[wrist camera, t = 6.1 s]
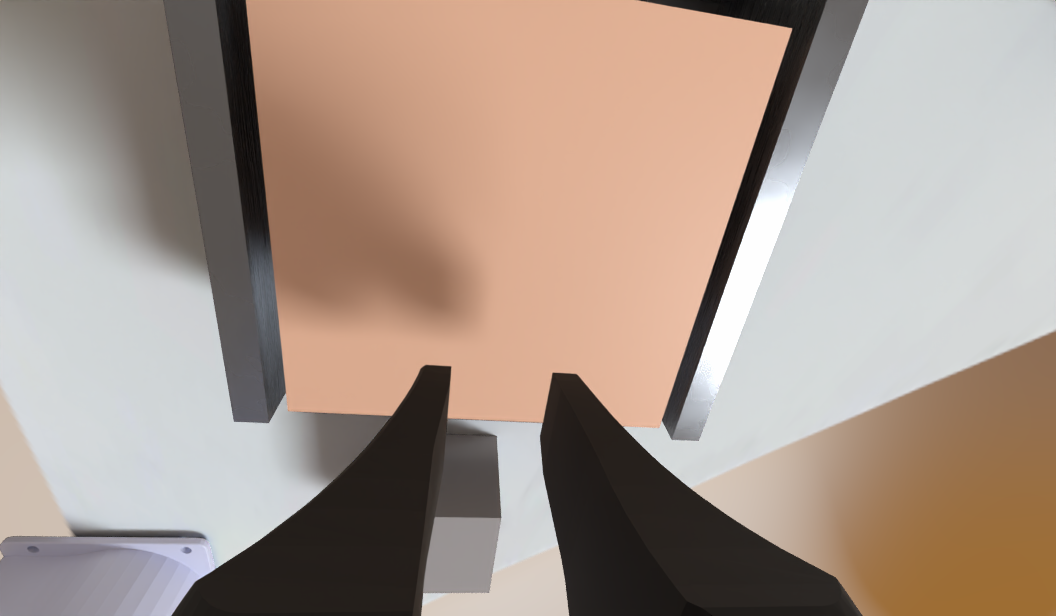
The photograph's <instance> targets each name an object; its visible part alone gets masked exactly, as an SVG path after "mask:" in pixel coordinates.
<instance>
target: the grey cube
mask: <svg viewBox="0 0 1056 616" xmlns="http://www.w3.org/2000/svg"><path fill="white" fill-rule="evenodd" d="M500 522H501V507H500V488H499V470H498V452H497V436H481V435H455V434H446V442H445V454H444V466H443V474H442V480H441V486H440V491H439V497H438V502H437V508H436V513H435V519H434V524H433V530H432V535H431V541H430V546H429V552H428V557H427V564H426V571H425V578H424V588H423V593H489V590H490V584H491V577H492V572H493V565H494V559H495V553H496V547H497V541H498V534H499V528H500Z"/></svg>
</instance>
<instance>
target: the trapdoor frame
mask: <svg viewBox="0 0 1056 616" xmlns="http://www.w3.org/2000/svg"><path fill="white" fill-rule="evenodd" d="M163 1H164V7H165V13H166V19H167V25H168V31H169V37H170V43H171V49H172V55H173V61H174V67H175V73H176V79H177V84H178V90H179V96H180V102H181V108H182V114H183V120H184V126H185V132H186V138H187V144H188V150H189V156H190V162H191V168H192V174H193V180H194V186H195V192H196V198H197V204H198V210H199V216H200V222H201V228H202V234H203V240H204V246H205V252H206V258H207V264H208V270H209V276H210V282H211V287H212V293H213V299H214V305H215V311H216V317H217V323H218V329H219V335H220V341H221V347H222V353H223V359H224V365H225V371H226V377H227V383H228V389H229V395H230V401H231V407H232V413H233V419H234V422H257V423H269V422H270V420H271V418H272V416H273V415H274V413H275V411H276V409H277V407H278V405H279V404H280V402H281V400H282V398H283V396H284V395H285V393H286V386H285V377H284V367H283V357H282V347H281V338H280V328H279V318H278V308H277V299H276V289H275V279H274V269H273V260H272V250H271V240H270V231H269V221H268V211H267V201H266V192H265V182H264V172H263V162H262V153H261V143H260V133H259V124H258V114H257V104H256V94H255V85H254V75H253V65H252V55H251V46H250V36H249V26H248V17H247V7H246V0H163ZM638 1H644V2H649V3H655V4H660V5H666V6H671V7H677V8H682V9H688V10H693V11H699V12H704V13H710V14H715V15H721V16H727V17H732V18H738V19H743V20H749V21H754V22H760V23H765V24H771V25H776V26H782V27H787V28H792V31H791V34H790V37H789V40H788V43H787V46H786V49H785V52H784V55H783V58H782V61H781V64H780V67H779V70H778V73H777V76H776V79H775V82H774V85H773V88H772V91H771V94H770V97H769V100H768V103H767V106H766V109H765V112H764V115H763V118H762V121H761V124H760V127H759V130H758V133H757V136H756V139H755V142H754V145H753V148H752V151H751V154H750V157H749V160H748V163H747V166H746V169H745V172H744V175H743V178H742V181H741V184H740V187H739V190H738V193H737V196H736V199H735V202H734V205H733V208H732V211H731V214H730V217H729V220H728V223H727V226H726V229H725V232H724V235H723V238H722V241H721V244H720V247H719V250H718V253H717V256H716V259H715V262H714V265H713V268H712V271H711V274H710V277H709V280H708V283H707V286H706V289H705V292H704V295H703V298H702V301H701V304H700V307H699V310H698V313H697V316H696V319H695V322H694V325H693V328H692V331H691V334H690V337H689V340H688V343H687V346H686V349H685V352H684V355H683V358H682V361H681V364H680V367H679V370H678V373H677V376H676V379H675V382H674V385H673V388H672V391H671V394H670V397H669V400H668V403H667V406H666V409H665V412H664V415H663V418H662V421H663V423H664V425H665V427H666V429H667V431H668V433H669V435H670V437H671V439H672V440H692V441H699V438H700V436H701V433H702V431H703V428H704V425H705V423H706V420H707V418H708V415H709V413H710V410H711V407H712V405H713V402H714V400H715V397H716V394H717V392H718V389H719V387H720V384H721V381H722V379H723V376H724V374H725V371H726V368H727V366H728V363H729V361H730V358H731V356H732V353H733V350H734V348H735V345H736V343H737V340H738V337H739V335H740V332H741V330H742V327H743V324H744V322H745V319H746V317H747V314H748V311H749V309H750V306H751V304H752V301H753V299H754V296H755V293H756V291H757V288H758V286H759V283H760V280H761V278H762V275H763V273H764V270H765V267H766V265H767V262H768V260H769V257H770V254H771V252H772V249H773V247H774V244H775V242H776V239H777V236H778V234H779V231H780V229H781V226H782V223H783V221H784V218H785V216H786V213H787V210H788V208H789V205H790V203H791V200H792V197H793V195H794V192H795V190H796V187H797V185H798V182H799V179H800V177H801V174H802V172H803V169H804V166H805V164H806V161H807V159H808V156H809V153H810V151H811V148H812V146H813V143H814V140H815V138H816V135H817V133H818V130H819V128H820V125H821V122H822V120H823V117H824V115H825V112H826V109H827V107H828V104H829V102H830V99H831V96H832V94H833V91H834V89H835V86H836V83H837V81H838V78H839V76H840V73H841V71H842V68H843V65H844V63H845V60H846V58H847V55H848V52H849V50H850V47H851V45H852V42H853V39H854V37H855V34H856V32H857V29H858V26H859V24H860V21H861V19H862V16H863V14H864V11H865V8H866V6H867V3H868V1H869V0H638ZM309 413H318V412H309ZM331 414H341V413H331ZM354 415H363V414H354ZM376 416H385V415H376ZM447 419H452V418H447ZM465 420H474V419H465ZM487 421H496V420H487ZM510 422H518V421H510ZM532 423H541V422H532ZM622 427H624V426H622Z"/></svg>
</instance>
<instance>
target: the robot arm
mask: <svg viewBox="0 0 1056 616" xmlns="http://www.w3.org/2000/svg"><path fill="white" fill-rule="evenodd" d="M450 381H451V366H439V365H425V366H423V367H422V368H420V371H419V373H418V376H417V377H416V379H415V381H414V383H413V385H412V387H411V388H410V390H409V391H408V393H407V395H406V396H405V398H404V399H403V401H402V402H401V404H400V405H399V406H398V408H397V409H396V411H395V412H394V414H393V415H392V416H391V418H390V419H389V420H388V422H387V423H386V424H385V425H384V427H383V428H382V429H381V430H380V431H379V433H378V434H377V435H376V436H375V438H374V439H373V440H372V441H371V442H370V444H369V445H368V446H367V447H366V448H365V449H364V450H363V451H362V453H361V454H360V455H359V456H358V457H357V458H356V459H355V460H354V461H353V462H352V463H351V464H350V465H349V466H348V467H347V468H346V469H345V470H344V471H343V472H342V473H341V474H340V475H339V476H338V477H337V478H336V479H335V480H333V481H332V482H331V483H330V484H329V485H328V486H327V487H326V488H325V489H324V490H322V491H321V492H320V493H319V494H318V495H317V496H316V497H315V498H313V499H312V500H311V501H310V502H309V503H307V504H306V505H305V506H304V507H303V508H301V509H300V510H299V511H297V512H296V513H295V514H294V515H292V516H291V517H290V518H288V519H287V520H286V521H284V522H283V523H282V524H280V525H279V526H278V527H276V528H275V529H274V530H272V531H271V532H270V533H269V534H267V535H266V536H265V537H263V538H262V539H260V540H259V541H258V542H256V543H255V544H253V545H252V546H250V547H249V548H247V549H246V550H244V551H243V552H241V553H240V554H238V555H236V556H235V557H233V558H232V559H230V560H229V561H227V562H226V563H224V564H223V565H221V566H219V567H218V568H215V564H214V560H213V555H212V551H211V546H210V543H209V542H208V541H207V540H206V539H203V538H156V537H37V536H13V537H8V538H6V539H5V540H4V541H3V542H2V543H1V544H0V550H1V552H2V554H3V556H4V557H3V558H2V560H1V561H0V616H421V610H422V599H423V588H424V578H425V571H426V564H427V557H428V552H429V546H430V541H431V535H432V530H433V524H434V519H435V513H436V508H437V502H438V497H439V491H440V486H441V480H442V474H443V466H444V454H445V442H446V429H447V417H448V405H449V393H450ZM540 442H541V454H542V465H543V475H544V480H545V485H546V490H547V494H548V499H549V504H550V508H551V513H552V518H553V522H554V527H555V531H556V536H557V541H558V545H559V550H560V554H561V559H562V565H563V570H564V576H565V582H566V591H567V600H568V609H569V616H862V614H861V613H860V611H859V610H858V608H857V607H856V606H855V604H854V603H853V601H852V600H851V598H850V597H849V595H848V594H847V592H846V591H845V590H844V588H843V587H842V585H841V584H840V583H839V581H838V580H837V579H836V577H834V576H832V575H830V574H828V573H826V572H824V571H822V570H821V569H819V568H817V567H815V566H813V565H811V564H809V563H807V562H805V561H803V560H802V559H800V558H798V557H796V556H794V555H792V554H790V553H788V552H786V551H785V550H783V549H781V548H779V547H778V546H776V545H774V544H772V543H771V542H769V541H767V540H766V539H764V538H763V537H761V536H759V535H758V534H756V533H754V532H753V531H751V530H749V529H748V528H746V527H745V526H743V525H741V524H740V523H738V522H737V521H735V520H734V519H732V518H731V517H729V516H727V515H726V514H725V513H723V512H722V511H720V510H719V509H718V508H716V507H715V506H713V505H712V504H711V503H709V502H708V501H706V500H705V499H703V498H702V497H701V496H699V495H698V494H697V493H696V492H694V491H693V490H692V489H690V488H689V487H688V486H686V485H685V484H684V483H683V482H682V481H680V480H679V479H678V478H677V477H676V476H674V475H673V474H672V473H671V472H670V471H668V470H667V469H666V468H665V467H664V466H662V465H661V464H660V463H659V462H658V461H657V460H656V459H655V458H654V457H652V456H651V455H650V454H649V453H648V452H647V451H646V450H645V449H644V448H643V447H642V446H641V445H640V444H639V443H638V442H637V441H636V440H635V439H634V438H633V437H632V436H631V435H630V434H629V433H628V432H627V431H626V430H625V429H624V428H623V427H622V425H621V424H620V423H619V422H618V421H617V420H616V419H615V418H614V417H613V416H612V414H611V413H610V412H609V411H608V410H607V409H606V408H605V407H604V405H603V404H602V403H601V402H600V401H599V399H598V398H597V397H596V396H595V395H594V394H593V392H592V391H591V390H590V389H589V388H588V386H587V385H586V384H585V383H584V382H583V380H582V379H581V378H580V377H579V376H578V375H577V374H571V373H554V372H553V373H552V378H551V383H550V388H549V394H548V399H547V404H546V409H545V414H544V419H543V424H542V430H541V435H540Z"/></svg>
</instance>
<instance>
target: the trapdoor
mask: <svg viewBox="0 0 1056 616" xmlns="http://www.w3.org/2000/svg"><path fill="white" fill-rule="evenodd" d="M246 7H247V17H248V26H249V36H250V46H251V55H252V65H253V75H254V85H255V94H256V104H257V114H258V124H259V133H260V143H261V153H262V162H263V172H264V182H265V192H266V201H267V211H268V221H269V231H270V240H271V250H272V260H273V269H274V279H275V289H276V299H277V308H278V318H279V328H280V338H281V347H282V357H283V367H284V377H285V386H286V396H287V406H288V411H296V412H318V413H341V414H363V415H385V416H392V415H393V414H394V412H395V411H396V409H397V408H398V406H399V405H400V404H401V402H402V401H403V399H404V398H405V396H406V395H407V393H408V391H409V390H410V388H411V387H412V385H413V383H414V381H415V379H416V377H417V376H418V373H419V371H420V368H422V367H423V366H425V365H439V366H451V381H450V393H449V405H448V417H447V418H452V419H474V420H496V421H518V422H541V423H543V419H544V414H545V409H546V404H547V399H548V394H549V388H550V383H551V378H552V373H553V372H554V373H571V374H577V375H578V376H579V377H580V378H581V379H582V380H583V382H584V383H585V384H586V385H587V386H588V388H589V389H590V390H591V391H592V392H593V394H594V395H595V396H596V397H597V398H598V399H599V401H600V402H601V403H602V404H603V405H604V407H605V408H606V409H607V410H608V411H609V412H610V413H611V414H612V416H613V417H614V418H615V419H616V420H617V421H618V422H619V423H620V424H621V425H622V426H630V427H652V428H659V427H660V424H661V421H662V418H663V415H664V412H665V409H666V406H667V403H668V400H669V397H670V394H671V391H672V388H673V385H674V382H675V379H676V376H677V373H678V370H679V367H680V364H681V361H682V358H683V355H684V352H685V349H686V346H687V343H688V340H689V337H690V334H691V331H692V328H693V325H694V322H695V319H696V316H697V313H698V310H699V307H700V304H701V301H702V298H703V295H704V292H705V289H706V286H707V283H708V280H709V277H710V274H711V271H712V268H713V265H714V262H715V259H716V256H717V253H718V250H719V247H720V244H721V241H722V238H723V235H724V232H725V229H726V226H727V223H728V220H729V217H730V214H731V211H732V208H733V205H734V202H735V199H736V196H737V193H738V190H739V187H740V184H741V181H742V178H743V175H744V172H745V169H746V166H747V163H748V160H749V157H750V154H751V151H752V148H753V145H754V142H755V139H756V136H757V133H758V130H759V127H760V124H761V121H762V118H763V115H764V112H765V109H766V106H767V103H768V100H769V97H770V94H771V91H772V88H773V85H774V82H775V79H776V76H777V73H778V70H779V67H780V64H781V61H782V58H783V55H784V52H785V49H786V46H787V43H788V40H789V37H790V34H791V31H792V28H787V27H782V26H776V25H771V24H765V23H760V22H754V21H749V20H743V19H738V18H732V17H727V16H721V15H715V14H710V13H704V12H699V11H693V10H688V9H682V8H677V7H671V6H666V5H660V4H655V3H649V2H644V1H638V0H246Z"/></svg>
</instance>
